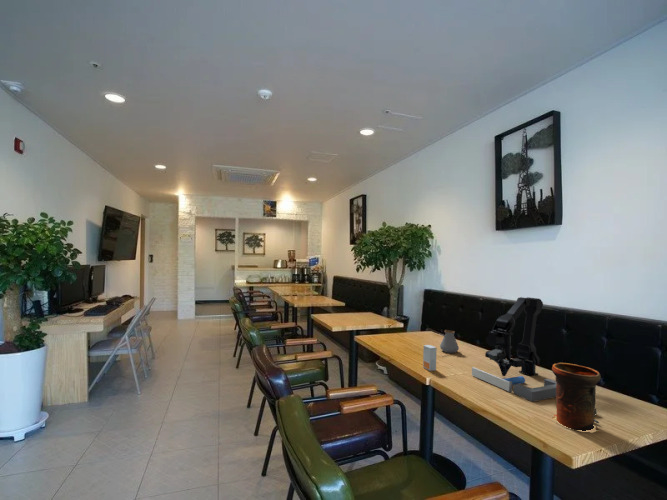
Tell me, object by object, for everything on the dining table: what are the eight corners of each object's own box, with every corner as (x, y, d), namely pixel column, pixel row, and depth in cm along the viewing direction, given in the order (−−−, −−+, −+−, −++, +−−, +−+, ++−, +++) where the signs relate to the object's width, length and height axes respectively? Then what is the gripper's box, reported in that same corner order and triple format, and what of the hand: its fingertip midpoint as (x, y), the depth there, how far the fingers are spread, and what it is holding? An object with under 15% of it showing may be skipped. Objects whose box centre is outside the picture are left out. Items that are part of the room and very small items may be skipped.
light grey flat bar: (512, 392, 150) (512, 382, 150) (510, 392, 150) (510, 382, 150) (473, 375, 172) (473, 366, 172) (471, 375, 171) (471, 366, 171)
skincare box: (422, 367, 182) (423, 345, 183) (429, 366, 184) (429, 344, 184) (429, 371, 177) (430, 348, 177) (436, 370, 178) (436, 347, 178)
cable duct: (548, 387, 158) (548, 378, 158) (568, 394, 150) (568, 385, 150) (513, 393, 150) (513, 384, 150) (532, 401, 141) (532, 391, 141)
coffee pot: (453, 348, 223) (453, 326, 223) (462, 353, 211) (462, 329, 212) (422, 349, 220) (422, 326, 220) (429, 354, 208) (430, 329, 209)
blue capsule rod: (519, 381, 166) (519, 375, 166) (525, 383, 163) (525, 377, 163) (500, 384, 161) (500, 377, 161) (506, 386, 158) (506, 380, 158)
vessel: (563, 411, 133) (565, 360, 133) (606, 428, 120) (608, 372, 120) (541, 418, 126) (543, 364, 126) (585, 438, 113) (587, 378, 113)
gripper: (477, 340, 174) (476, 371, 173) (508, 350, 156) (507, 384, 156) (493, 339, 178) (493, 369, 178) (525, 348, 161) (525, 381, 160)
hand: (503, 376), depth 168 cm, fingers closed
